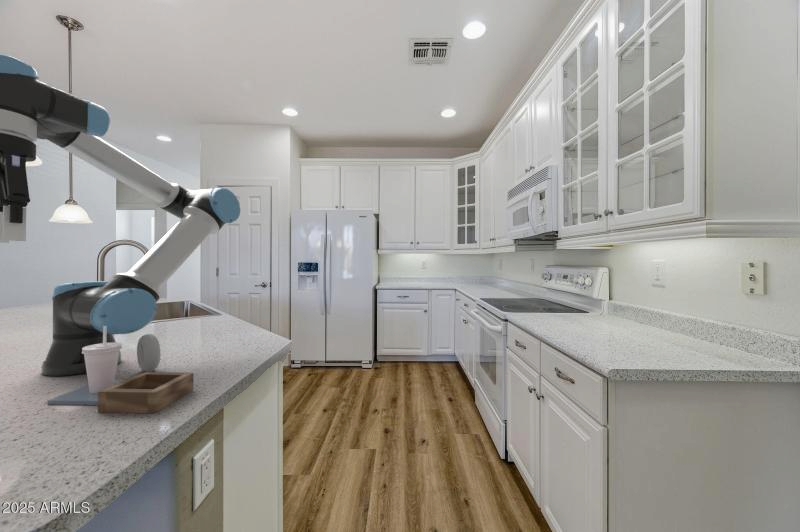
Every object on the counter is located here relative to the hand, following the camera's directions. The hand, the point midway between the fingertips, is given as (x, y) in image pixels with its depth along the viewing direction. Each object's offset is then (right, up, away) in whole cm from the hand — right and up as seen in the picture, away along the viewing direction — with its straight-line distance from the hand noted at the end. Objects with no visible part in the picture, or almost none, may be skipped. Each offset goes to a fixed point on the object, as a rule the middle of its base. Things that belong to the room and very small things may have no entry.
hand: (5, 241), depth 63 cm
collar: (+27, -33, +2) cm, 43 cm away
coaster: (+14, -33, +5) cm, 36 cm away
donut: (+13, -33, +19) cm, 41 cm away
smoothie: (+14, -32, +5) cm, 36 cm away
